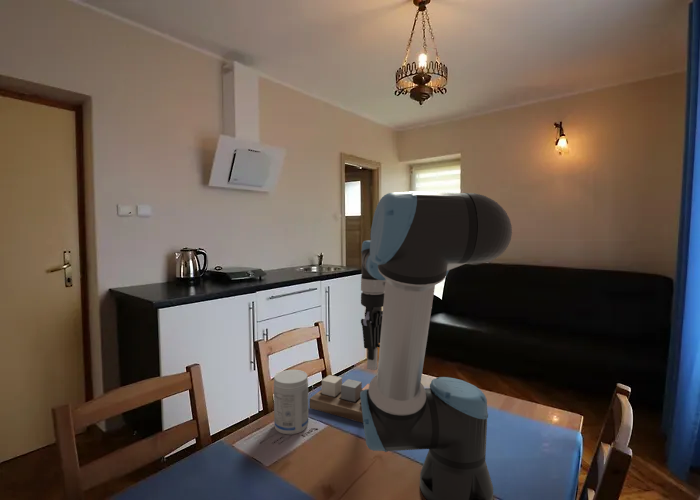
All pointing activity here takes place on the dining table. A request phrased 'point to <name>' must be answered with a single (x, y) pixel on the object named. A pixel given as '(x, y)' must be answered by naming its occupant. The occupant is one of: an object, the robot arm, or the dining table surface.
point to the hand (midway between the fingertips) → (372, 368)
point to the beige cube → (331, 385)
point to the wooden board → (337, 406)
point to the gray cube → (351, 390)
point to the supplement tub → (290, 401)
